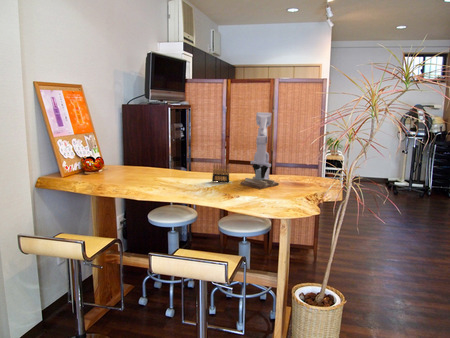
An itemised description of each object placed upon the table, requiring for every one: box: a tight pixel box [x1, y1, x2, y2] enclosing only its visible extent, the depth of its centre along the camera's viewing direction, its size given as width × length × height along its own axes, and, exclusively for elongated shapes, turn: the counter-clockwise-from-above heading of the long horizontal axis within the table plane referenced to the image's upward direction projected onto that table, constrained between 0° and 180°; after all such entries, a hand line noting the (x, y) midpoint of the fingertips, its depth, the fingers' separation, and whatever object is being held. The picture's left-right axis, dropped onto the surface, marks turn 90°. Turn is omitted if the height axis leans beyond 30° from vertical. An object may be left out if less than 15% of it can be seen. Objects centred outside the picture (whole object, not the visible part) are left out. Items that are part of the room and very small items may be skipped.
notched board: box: [239, 175, 280, 190], centre depth 231 cm, size 18×16×4 cm
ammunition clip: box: [211, 162, 230, 183], centre depth 234 cm, size 11×2×12 cm, turn 80°
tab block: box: [254, 169, 264, 180], centre depth 230 cm, size 4×4×6 cm
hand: (259, 177), depth 231 cm, fingers closed on tab block, 4 cm apart
